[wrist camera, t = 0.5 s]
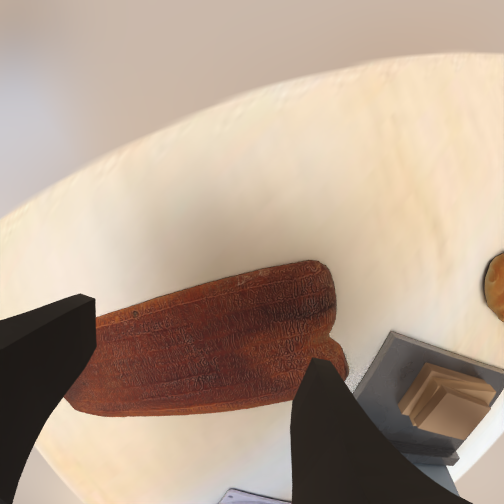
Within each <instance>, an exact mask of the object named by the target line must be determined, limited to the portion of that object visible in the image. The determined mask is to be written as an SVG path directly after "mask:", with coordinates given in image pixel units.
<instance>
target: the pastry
mask: <svg viewBox="0 0 504 504" xmlns="http://www.w3.org/2000/svg"><path fill="white" fill-rule="evenodd" d="M485 296H486V299H487V304H488V307H489V308H490V309H491V310H492V311H494V312H495V313H496V314H497V316H498V318H499V319H500V320H501V321H502V322H504V253H503V254H501V255H499V256H496V257H495V258H494V259H493V260H492V262H491V263H490V266H489V269H488V272H487V275H486V278H485Z"/></svg>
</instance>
